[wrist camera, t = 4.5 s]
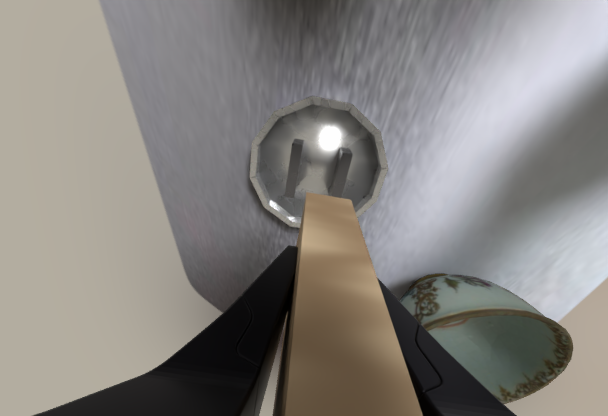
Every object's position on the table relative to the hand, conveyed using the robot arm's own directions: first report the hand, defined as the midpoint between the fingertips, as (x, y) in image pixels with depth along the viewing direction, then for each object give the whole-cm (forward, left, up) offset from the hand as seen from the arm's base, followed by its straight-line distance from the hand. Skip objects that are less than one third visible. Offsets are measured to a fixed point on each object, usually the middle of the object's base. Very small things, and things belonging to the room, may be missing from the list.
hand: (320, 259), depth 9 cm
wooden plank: (0, 0, -2) cm, 2 cm away
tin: (0, 0, -12) cm, 12 cm away
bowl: (-16, +12, -13) cm, 23 cm away
